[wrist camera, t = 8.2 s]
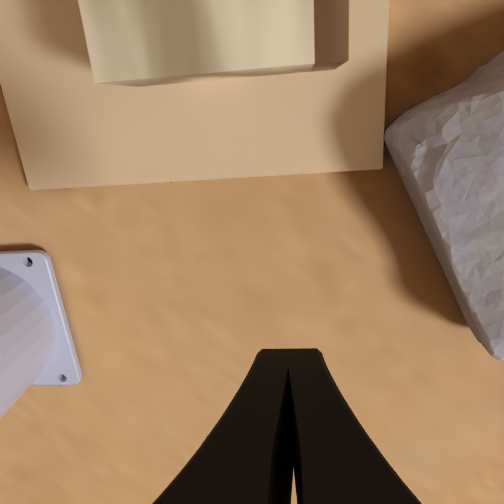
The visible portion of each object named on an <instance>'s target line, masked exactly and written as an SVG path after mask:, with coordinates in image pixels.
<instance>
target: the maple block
mask: <svg viewBox="0 0 504 504" xmlns="http://www.w3.org/2000/svg"><path fill="white" fill-rule="evenodd" d="M78 3H79V8H80V13H81V18H82V23H83V28H84V33H85V38H86V43H87V48H88V53H89V58H90V63H91V68H92V73H93V78H94V83H98V84H110V85H122V86H134V87H143V86H154V85H166V84H177V83H189V82H200V81H211V80H223V79H234V78H245V77H257V76H268V75H280V74H291V73H302V72H314V71H325V70H335V69H336V68H338V67H339V66H341V65H342V64H344V63H345V62H347V61H348V60H349V0H78Z"/></svg>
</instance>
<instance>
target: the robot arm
mask: <svg viewBox="0 0 504 504" xmlns="http://www.w3.org/2000/svg"><path fill="white" fill-rule="evenodd" d="M27 257H29V258H30V259H31V260H32V262H33V264H32V263H30V262H29V261H28V259H27ZM62 374H63V375H64V376H66V377H64V376H62ZM81 378H82V372H81V369H80V365H79V361H78V358H77V354H76V350H75V347H74V343H73V339H72V336H71V332H70V328H69V325H68V321H67V317H66V314H65V310H64V306H63V303H62V299H61V295H60V292H59V288H58V284H57V281H56V277H55V273H54V270H53V266H52V262H51V259H50V257H49V255H48V254H47V253H46V252H45V251H43V250H20V251H0V418H1V417H2V416H3V415H4V414H5V413H6V412H7V411H8V410H9V408H10V407H11V406H12V405H13V404H14V403H15V402H16V401H17V400H18V399H19V397H20V396H21V395H22V394H23V393H24V392H25V391H26V390H27V389H28V387H29V386H30V385H75V384H77V383H78V382H79V381H80V380H81ZM293 467H294V476H295V485H296V495H297V504H421V502H420V501H419V500H418V499H417V498H416V496H415V495H414V494H413V493H412V492H411V490H410V489H409V488H408V487H407V486H406V485H405V483H404V482H403V481H402V480H401V478H400V477H399V476H398V475H397V473H396V472H395V471H394V470H393V468H392V467H391V466H390V464H389V463H388V462H387V461H386V459H385V458H384V457H383V455H382V454H381V453H380V451H379V450H378V448H377V447H376V446H375V444H374V443H373V441H372V440H371V439H370V437H369V436H368V435H367V433H366V432H365V430H364V429H363V427H362V426H361V424H360V423H359V421H358V420H357V418H356V417H355V415H354V413H353V412H352V410H351V409H350V407H349V405H348V404H347V402H346V401H345V399H344V397H343V396H342V394H341V392H340V391H339V389H338V387H337V385H336V383H335V381H334V380H333V378H332V376H331V374H330V372H329V370H328V368H327V365H326V363H325V361H324V358H323V355H322V353H321V352H320V351H319V350H318V349H317V348H311V349H262V350H261V351H259V352H258V353H257V355H256V358H255V360H254V362H253V364H252V366H251V368H250V370H249V372H248V374H247V376H246V378H245V379H244V381H243V383H242V385H241V387H240V388H239V390H238V392H237V393H236V395H235V396H234V398H233V400H232V401H231V403H230V404H229V406H228V408H227V409H226V411H225V412H224V414H223V415H222V417H221V418H220V420H219V421H218V423H217V424H216V425H215V427H214V428H213V429H212V431H211V432H210V434H209V435H208V436H207V438H206V439H205V441H204V442H203V443H202V445H201V446H200V448H199V449H198V450H197V451H196V453H195V454H194V455H193V457H192V458H191V459H190V460H189V462H188V463H187V464H186V465H185V467H184V468H183V469H182V470H181V471H180V473H179V474H178V475H177V476H176V477H175V479H174V480H173V481H172V482H171V483H170V484H169V486H168V487H167V488H166V489H165V490H164V491H163V492H162V494H161V495H160V496H159V497H158V498H157V499H156V500H155V501H154V502H153V503H152V504H291V493H292V480H293Z"/></svg>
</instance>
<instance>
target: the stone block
mask: <svg viewBox="0 0 504 504" xmlns="http://www.w3.org/2000/svg"><path fill="white" fill-rule="evenodd" d="M384 141H385V145H386V147H387V149H388V151H389V152H390V155H391V157H392V160H393V162H394V164H395V166H396V168H397V171H398V173H399V175H400V177H401V179H402V181H403V184H404V186H405V188H406V190H407V193H408V195H409V197H410V199H411V201H412V203H413V205H414V207H415V210H416V212H417V214H418V216H419V219H420V221H421V223H422V225H423V228H424V230H425V232H426V235H427V237H428V239H429V241H430V243H431V245H432V247H433V250H434V252H435V254H436V257H437V259H438V261H439V262H440V264H441V267H442V269H443V271H444V273H445V275H446V277H447V280H448V282H449V284H450V286H451V289H452V291H453V293H454V296H455V298H456V300H457V302H458V305H459V307H460V309H461V311H462V313H463V316H464V318H465V321H466V322H467V324H468V326H469V327H470V329H471V331H472V332H473V334H474V335H475V337H476V339H477V340H478V341H479V342H480V343H481V344H482V345H483V346H484V348H485V349H486V350H487V351H488V352H489V354H490V355H491V356H492V357H494V358H496V359H498V360H504V50H503V51H501V52H500V53H499V54H498V55H496V56H495V57H494V58H493V59H492V60H490V61H489V62H487V63H486V64H485V65H482V66H479V67H478V68H477V69H476V70H475V71H474V72H473V73H472V75H471V76H470V77H469V78H468V79H467V80H466V81H464V82H462V83H460V84H458V85H456V86H455V87H453V88H452V89H449V90H446V91H443V92H441V93H440V94H438V95H435V96H433V97H431V98H429V99H428V100H426V101H424V102H422V103H420V104H418V105H416V106H414V107H413V108H411V109H409V110H407V111H406V112H404V113H403V114H402V115H401V116H399V117H397V118H396V119H395V121H394V122H393V123H392V124H390V125H389V127H388V128H387V129H386V132H385V135H384Z"/></svg>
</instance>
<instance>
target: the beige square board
mask: <svg viewBox="0 0 504 504" xmlns="http://www.w3.org/2000/svg"><path fill="white" fill-rule="evenodd" d="M388 19H389V0H349V60H348V61H347V62H345V63H344V64H342V65H341V66H339V67H338V68H336V69H335V70H325V71H314V72H302V73H291V74H280V75H268V76H257V77H245V78H234V79H223V80H211V81H200V82H189V83H177V84H166V85H154V86H143V87H134V86H122V85H110V84H98V83H94V78H93V73H92V68H91V63H90V58H89V53H88V48H87V43H86V38H85V33H84V28H83V23H82V18H81V13H80V8H79V3H78V0H0V84H1V88H2V92H3V95H4V99H5V103H6V106H7V110H8V113H9V117H10V121H11V124H12V128H13V132H14V135H15V139H16V143H17V146H18V150H19V153H20V157H21V161H22V164H23V168H24V172H25V175H26V179H27V182H28V186H29V190H43V189H60V188H76V187H93V186H110V185H126V184H143V183H159V182H176V181H193V180H209V179H226V178H243V177H259V176H276V175H293V174H309V173H326V172H342V171H359V170H376V169H383V145H384V120H385V95H386V70H387V44H388Z"/></svg>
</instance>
